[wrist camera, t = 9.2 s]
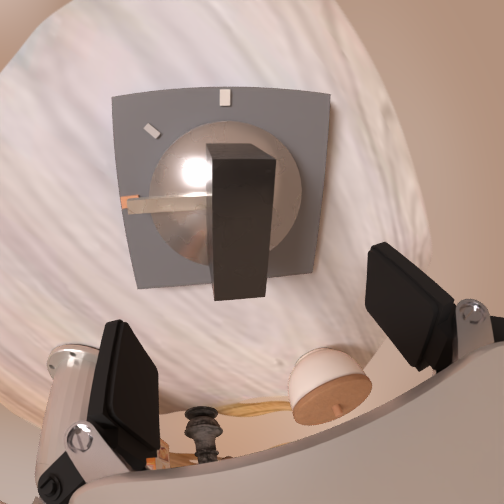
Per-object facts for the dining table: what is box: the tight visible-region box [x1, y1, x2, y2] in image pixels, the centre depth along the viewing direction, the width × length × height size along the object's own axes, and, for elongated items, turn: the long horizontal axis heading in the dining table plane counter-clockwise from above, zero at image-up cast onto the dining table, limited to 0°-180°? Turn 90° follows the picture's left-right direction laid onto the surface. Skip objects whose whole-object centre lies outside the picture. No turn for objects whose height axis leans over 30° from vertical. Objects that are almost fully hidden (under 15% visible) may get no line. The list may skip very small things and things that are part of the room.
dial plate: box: [112, 87, 330, 289], centre depth 22 cm, size 16×16×2 cm
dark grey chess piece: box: [184, 406, 223, 464], centre depth 34 cm, size 6×6×12 cm
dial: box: [127, 120, 302, 301], centre depth 17 cm, size 12×11×8 cm
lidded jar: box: [288, 348, 372, 425], centre depth 33 cm, size 11×11×9 cm
